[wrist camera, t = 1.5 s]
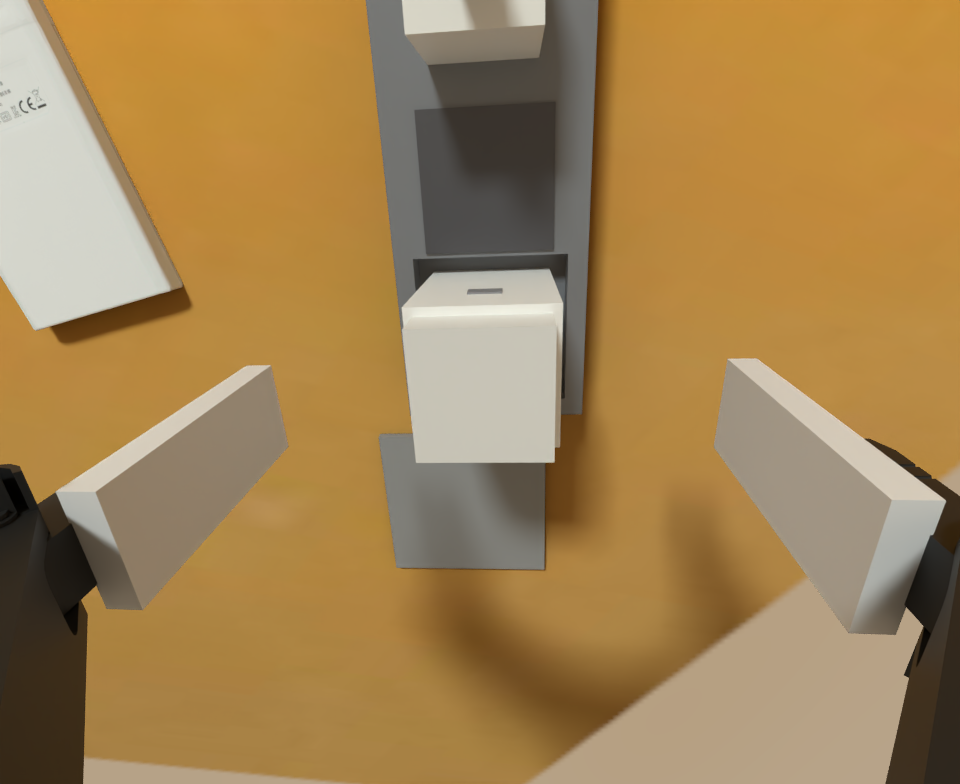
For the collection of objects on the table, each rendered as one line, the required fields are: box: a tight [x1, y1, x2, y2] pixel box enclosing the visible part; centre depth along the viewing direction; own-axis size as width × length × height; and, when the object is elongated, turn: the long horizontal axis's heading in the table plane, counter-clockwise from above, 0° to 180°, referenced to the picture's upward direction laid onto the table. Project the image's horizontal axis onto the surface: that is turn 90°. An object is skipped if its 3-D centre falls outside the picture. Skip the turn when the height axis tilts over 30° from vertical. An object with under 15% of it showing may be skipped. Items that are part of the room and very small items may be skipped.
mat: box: [379, 434, 545, 570], centre depth 29 cm, size 9×9×1 cm
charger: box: [402, 267, 563, 463], centre depth 19 cm, size 5×5×8 cm
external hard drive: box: [0, 0, 183, 331], centre depth 23 cm, size 2×8×12 cm
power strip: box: [366, 0, 598, 416], centre depth 16 cm, size 30×8×10 cm, turn 2°
